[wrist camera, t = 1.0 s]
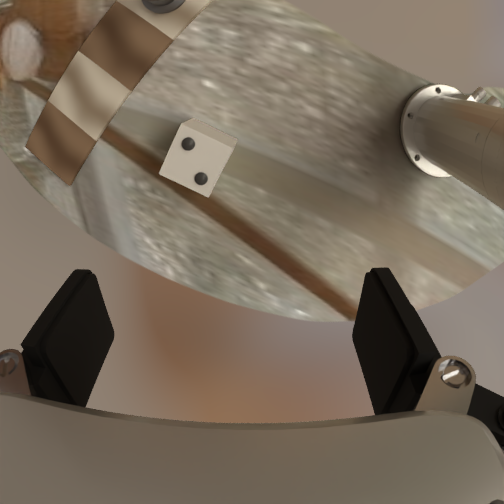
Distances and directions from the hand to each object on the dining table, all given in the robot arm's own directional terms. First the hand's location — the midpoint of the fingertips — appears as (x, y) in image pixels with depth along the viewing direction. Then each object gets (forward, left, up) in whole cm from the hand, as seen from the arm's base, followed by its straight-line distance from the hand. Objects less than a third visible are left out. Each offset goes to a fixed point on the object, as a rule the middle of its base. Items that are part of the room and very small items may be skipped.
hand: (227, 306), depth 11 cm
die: (+4, -4, -30) cm, 31 cm away
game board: (+4, -21, -30) cm, 37 cm away
